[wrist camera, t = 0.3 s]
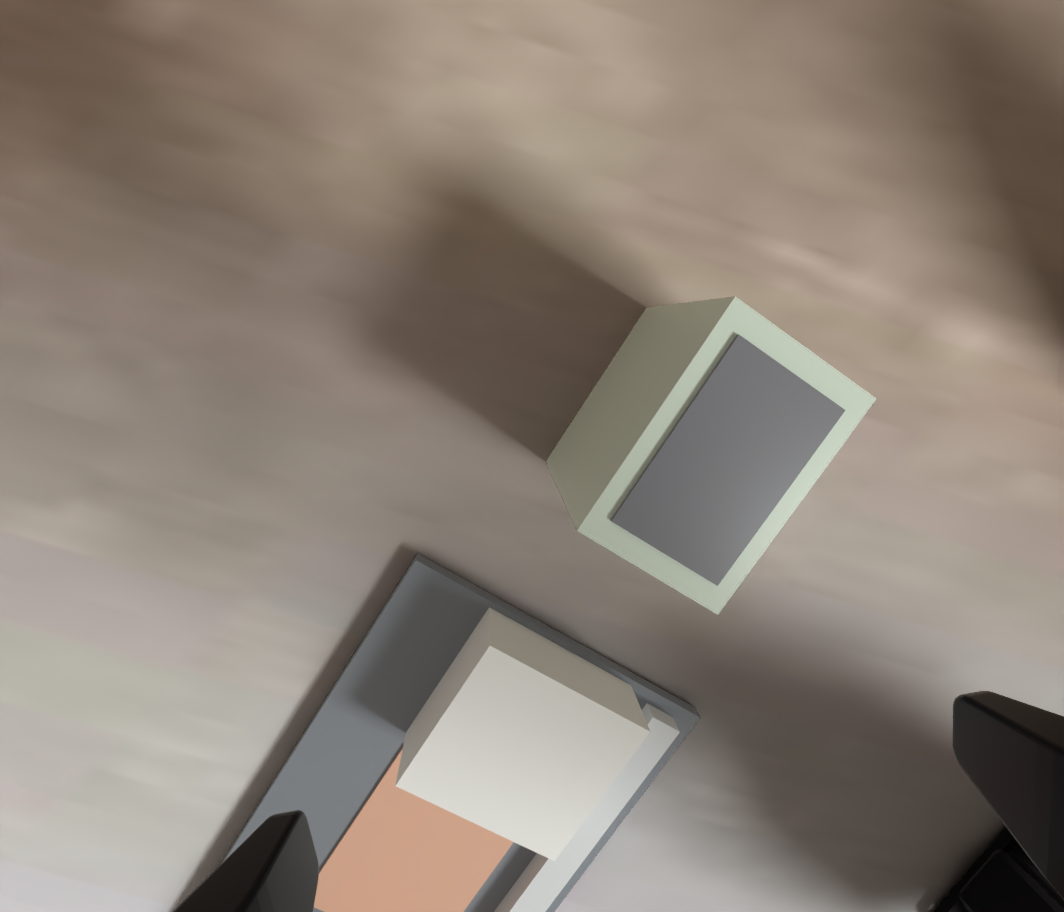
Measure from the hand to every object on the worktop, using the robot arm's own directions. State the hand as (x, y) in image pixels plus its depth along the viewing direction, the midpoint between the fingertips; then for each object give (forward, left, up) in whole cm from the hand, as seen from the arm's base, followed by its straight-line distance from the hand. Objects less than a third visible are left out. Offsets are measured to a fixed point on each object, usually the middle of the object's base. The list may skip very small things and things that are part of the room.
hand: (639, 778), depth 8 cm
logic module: (-1, -4, -13) cm, 13 cm away
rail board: (-3, +14, -13) cm, 19 cm away
